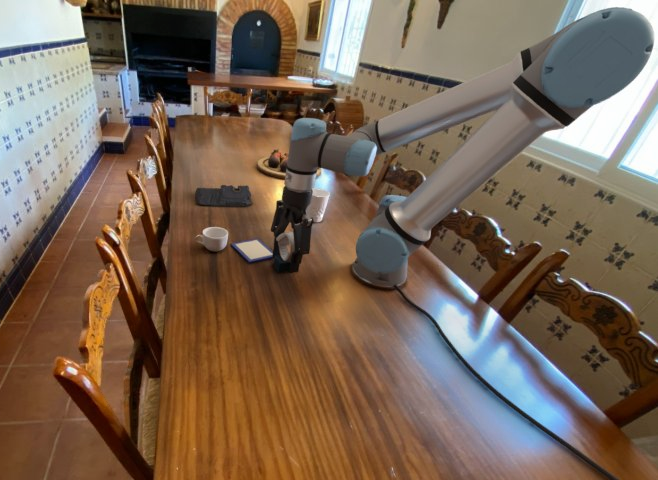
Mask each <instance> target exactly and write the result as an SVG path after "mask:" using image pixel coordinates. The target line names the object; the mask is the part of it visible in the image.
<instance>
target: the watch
mask: <svg viewBox="0 0 658 480" xmlns="http://www.w3.org/2000/svg"><path fill="white" fill-rule="evenodd" d="M276 240H277V241H278V246H279V250H280V255H279V256H275V257H274V258H273V264H272V266H273V267H274V268H275V270H276V272H277V273H278V274H280V273H289V269H290V264H291V258H292V253H293V252H295V246H294V233H293V231H285V232H284V233H282V234H280V235H279V236H278V237H277V238H276ZM288 246H289V252H288Z"/></svg>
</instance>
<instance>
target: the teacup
mask: <svg viewBox="0 0 658 480" xmlns="http://www.w3.org/2000/svg"><path fill="white" fill-rule="evenodd" d="M198 238H200V239H201V240H202V241H200V240H198ZM228 238H229V231H228V230H227V229H226V228H223V227H219V226H209V227H206V228H204V229H203V230H202V234H197V235H196V236H195V242H196V243H198V244H200V245H203V246H204V247H205V248H206V249H207V250H208V251H210V252H220V251H223V250H224V249H225V248H226V247H227V244H228Z"/></svg>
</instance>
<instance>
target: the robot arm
mask: <svg viewBox="0 0 658 480" xmlns="http://www.w3.org/2000/svg"><path fill="white" fill-rule="evenodd" d="M654 44H655V32H654V27H653V25H652V23H651V22H650V20H649V19H648V18H647V17H646V16H645V15H644V14H643V13H641V12H639V11H636V10H634V9H632V8H629V7H623V6H622V7H619V6H614V7H613V6H612V7H607V8H603V9H599V10H597V11H594V12H591V13H588V14H587V15H585V16H582V17H580V18H578V19H576V20H573V21H572V22H571V23H569V24H568V25H566V26H564V27H563V28H561V29H560V30H558V31H557V32H555V33H553V34H552V35H550V36H548V37H547V38H545V39H543V40H541V41H539V42H538V43H536V44H533V45H532V46H529V47H528V48H525V49H522V50H521V51H518V52H517V53H516V54H515V56H514V58H513V59H512V60H511V61H509V62H507V63H504V64H503V65H501V66H498V67H496V68H494V69H492V70H491V69H490V70H489V71H487V72H485V73H483V74H480V75H478V76H476V77H473V78H471V79H469V80H467V81H463V82H462V83H459V84H458V85H455V86H453V87H449V88H448V89H446V90H444V91H441V92H439V93H437V94H435V95H433V96H429V97H428V98H425V99H424V100H421V101H418V102H416V103H414V104H412V105H410V106H407V107H405V108H403V109H401V110H398V111H397V112H394V113H392V114H389V115H386V116H384V117H383V118H380V119H379V120H376V121H373V122H371V123H368V124H367V125H362V126H360V127H358V128H356V129H354V131H353V132H350V133H349V134H348V135H341V134H334V133H330V132H328V131H327V123H326V121H324V120H322V119H320V118H319V119H318V118H314V117H313V118H312V117H302V118H298V119H296V120H295V121H294V122H293V125H292V131H291V135H290V139H289V149H288V154H289V155H288V163H287V170H286V176H285V179H284V182H283V183H284V186H283V188H282V195H281V199H279V200H276V202H275V204H276V205H275V211H274V215H273V219H272V223H271V226H270V232H271V233H273V236H274V238H273V249H272V251H273V255H272V258H271V259H274V257H275V256H279V255H280V250H279V246H278V241H277V240H276V238H277V237H278V236H279V235H280V234H282V233H285V232H286V230H287V228H288V226H289V225H290V227H291V229H292V230H293V231H292V233H294V246H295V252H293V253H292V258H291V264H290V269H289V272H288V273H289V275H290V274H294V273H298V272H299V269H300V265H301V263H302V260H303V256H305V255H309V253H310V251H311V240H312V229H313V224H314V223H315V222H314V219H313V218H309V217H308V216H307V211H306V209H307V207H308V206H309V205H310V203H311V198H312V194H313V190H312V189H315V185H316V178H317V177H316V174H317V169H318V167H319V168H321V169H323V170H327V171H331V172H336V173H339V174H343V175H347V176H350V177H359V178H365V177H367V175H368V174H369V173H370V170H371V169H372V167H373V164H374V161H375V158H376V157H377V156H380V155H382V154H385V153H387V152H390V151H391V150H394V149H397V148H400V147H403V146H406V145H409V144H411V143H413V142H416V141H419V140H422V139H424V138H427V137H430V136H432V135H436V134H437V133H441V132H443V131H446V130H448V129H451V128H453V127H456V126H459V125H462V124H464V123H467V122H469V121H472V120H475V119H478V118H480V117H483V116H486V115H488V114H491V113H492V115H490V116H489V117H488V118H487V119H486V120H485V121H484V122H483V123H482V124H481V125H480V126H479V127H478V128H476V130H475V131H474V132H473V133H472V134H471V135H470V136H469V137H468V138H467V139H466V140H465V141H464V142H462V144H461V145H459V146H458V147H457V148H456V149H455V150H454V151H453V152H452V153H451V154H450V155H449V156H448V157H447V158H446V159H445V160H444V161H443V162H442V163H441V164H440V165H439V166H438V167H437V168H435V170H434V171H433V172H432V173H431V174H430V175H428V176H427V177H426V178H425V180H423V182H421V183H420V184H419V185H418V186H417V187H416V188H415V189H414V190H413V191H412V192H411V193H410V194H409V195H408V196H403V195H397V194H387V195H384V196H383V197H382V198H381V200H380V201H379V203H378V208H377V211H376V214H375V216H374V217H373V218H372V220H371V221H370V222H369V224H368V225H367V226H366V228H365V229H364V230H363V231H362V232H361V233H360V234H359V236H358V238H357V241H356V244H355V254H356V258H355V259H354V261H353V263H352V267H351V273H352V275H353V276H354V278H355V279H357V280H358V281H360V282H361V283H363V284H364V285H367V286H369V287H372V288H375V289H378V290H379V289H380V290H389V291H390V290H396V291H397V292H398V293H399V295H401V297H402V298H403V299H404V300H405V302H406V303H408V304H409V305H410V306H412V307H413V308H414V309H416V310H417V311H419V312H420V313H422V314H423V315H424V316H426V317H427V318H428V319H429V320H430V321H431V322H432V324H433V325H434V327H435V328H436V331H437V332H438V333H439V335H440V336H441V338H442V339H443V341H444V342H445V343H446V345H447V346H448V348H450V351H452V353H453V354H454V355H455V356H456V357H457V359H458V360H459V361H460V362H461V363H462V364H463V366H465V368H466V369H468V371H469V372H470V373H471V374H472V375H473V376H474V377H475V378H476V379H477V380H478V381H479V382H480V383H481V384H483V386H485V387H486V388H487V389H488V390H489V391H490V392H492V394H494V395H495V396H496V397H497V398H499V399H500V400H501V401H502V402H504V403H505V404H506V405H508V406H509V407H510V408H511V409H513V410H514V411H515V412H517V414H519V415H521V417H522V418H524V419H526V420H527V421H528V422H529V423H531V424H532V425H534V426H535V427H537V428H538V429H539V430H541V431H542V432H544V433H545V434H547V435H548V436H550V437H551V439H554V440H555V441H557V442H558V443H559V444H560V445H562V446H563V447H564V448H566V449H567V450H569V451H570V452H571V453H573V454H574V455H576V456H577V457H579V458H580V459H582V460H583V461H584V462H585V463H587V464H588V465H589V466H591V467H592V468H594V469H595V470H596V471H598V472H599V473H601V474H602V475H603V476H605V477H606V478H607V479H609V480H620V479H619V478H618V477H616V476H615V475H613V474H612V473H610V472H609V471H608V470H606V469H605V468H604V467H602V466H601V465H599V464H598V463H596V462H595V461H594V460H592V459H591V457H588V456H587V455H586V454H584V453H583V452H581V451H580V450H579V449H577V448H576V447H574V446H573V445H572V444H570V443H569V442H567V441H566V440H565V439H563V438H562V437H561V436H559V435H557V434H556V433H555V432H554V431H552V430H550V429H548V427H546V426H545V425H543V424H542V423H540V422H539V421H538V420H536V419H535V418H533V417H532V416H531V415H529V414H528V413H526V412H525V411H524V410H523V409H521V408H520V407H518V406H517V404H515V403H513V402H512V401H511V400H510V399H508V398H507V397H506V396H504V395H503V394H502V393H501V392H499V391H498V390H497V389H496V388H494V387H493V386H492V384H490V383H489V382H488V381H487V380H486V379H485V378H484V377H482V375H480V374H479V373H478V372H477V371H476V370H475V369H474V368H473V367H472V365H470V364H469V363H468V361H467V360H466V359H465V358H464V357H463V355H461V354H460V352H459V351H458V350H457V348H455V346H454V345H453V343H452V342H451V341H450V339H449V338H448V337H447V336H446V334H445V333H444V331H443V330H442V328H441V326H440V324H439V323H438V322H437V320H436V319H435V318H434V317H433V316H432V315H431V314H430V313H429V312H428V311H426V310H425V309H423V308H422V307H420V306H419V305H417V304H416V303H414V302H413V301H411V300H410V299H409V298H408V297H407V295H406V294H405V293H404V292H403V290H402V289H401V288H402V287H403V286H404V285H405V283H406V281H407V278H408V262H409V261H408V260H409V257H410V256H411V255H412V254H413V253H415V252H416V251H417V250H418V249H419V248H421V247H422V246H423V245H425V244H426V242H428V241H429V240H430V239H431V236H432V234H431V233H432V229H433V228H434V227H435V226H436V225H437V224H439V223H440V222H441V221H443V219H445V218H446V217H447V216H448V215H449V214H450V213H452V212H453V211H455V209H456V208H457V207H459V206H460V205H461V204H463V203H464V202H465V201H466V200H467V199H468V198H470V197H471V196H472V195H473V194H475V193H476V192H477V191H478V190H479V189H480V188H482V187H483V186H484V185H485V184H487V182H489V181H490V180H491V179H493V178H494V177H495V176H496V175H497V174H498V173H500V172H501V171H502V170H503V169H505V168H506V167H507V166H508V165H509V164H510V163H511V162H513V161H514V160H515V159H516V158H517V157H518V156H520V155H521V154H523V152H525V151H526V150H527V149H528V148H529V147H531V146H532V145H533V144H534V143H535V142H536V141H538V140H539V139H540V138H541V137H542V136H544V135H545V134H546V133H548V132H551V131H559V130H565V129H567V127H569V126H570V125H571V124H573V123H574V122H575V121H576V120H578V119H579V118H580V117H581V116H582V115H584V114H586V112H588V110H590V109H591V108H593V107H594V106H595V105H598V104H601V103H603V102H604V101H607V100H609V99H611V98H612V97H614V96H616V95H617V94H619V93H620V92H622V91H623V90H624V89H625V88H627V87H628V86H629V85H630V84H631V83H632V82H633V81H635V79H637V78H638V76H639V75H640V74H641V72H642V71H643V70H644V68H645V67H646V66H647V64H648V62H649V60H650V58H651V56H652V52H653V49H654V46H655V45H654Z"/></svg>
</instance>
